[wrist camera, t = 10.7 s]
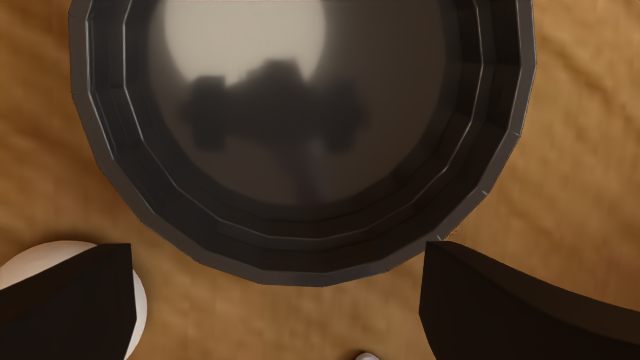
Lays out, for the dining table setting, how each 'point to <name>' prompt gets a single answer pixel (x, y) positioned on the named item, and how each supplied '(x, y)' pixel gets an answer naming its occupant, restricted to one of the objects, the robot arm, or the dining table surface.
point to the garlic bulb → (54, 254)
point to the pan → (302, 123)
